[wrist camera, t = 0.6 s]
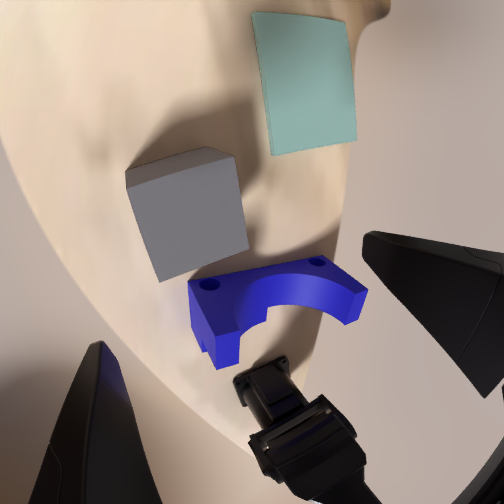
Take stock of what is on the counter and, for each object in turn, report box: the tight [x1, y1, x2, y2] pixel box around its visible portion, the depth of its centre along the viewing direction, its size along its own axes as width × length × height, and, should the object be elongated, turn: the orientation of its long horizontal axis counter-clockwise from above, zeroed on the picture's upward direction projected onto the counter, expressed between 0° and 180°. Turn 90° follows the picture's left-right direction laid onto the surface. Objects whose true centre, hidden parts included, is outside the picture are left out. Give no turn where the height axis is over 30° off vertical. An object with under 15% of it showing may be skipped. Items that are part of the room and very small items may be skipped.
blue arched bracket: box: [188, 255, 368, 370], centre depth 20 cm, size 12×4×6 cm, turn 85°
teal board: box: [251, 12, 357, 156], centre depth 16 cm, size 10×8×1 cm
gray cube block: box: [125, 147, 249, 283], centre depth 14 cm, size 5×5×4 cm
